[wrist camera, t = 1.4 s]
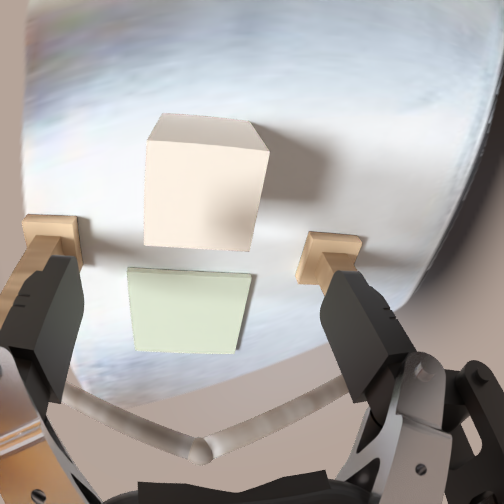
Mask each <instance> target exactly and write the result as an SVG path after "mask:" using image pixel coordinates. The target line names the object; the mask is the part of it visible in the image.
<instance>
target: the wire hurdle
mask: <svg viewBox="0 0 504 504" xmlns="http://www.w3.org/2000/svg"><path fill="white" fill-rule="evenodd" d="M22 226H23V231H24V236H25V241H26V245H27V250H26V251H25V253H24V255H23V256H22V258H21V259H20V261H19V262H18V264H17V266H16V267H15V269H14V271H13V272H12V274H11V276H10V278H9V280H8V281H7V283H6V285H5V287H4V288H3V290H2V292H1V294H0V329H1V327H2V325H3V323H4V321H5V319H6V316H7V314H8V312H9V310H10V308H11V306H13V302H14V300H15V298H16V296H18V292H19V290H20V289H21V287H22V285H23V283H24V281H25V280H26V279H27V278H28V277H29V276H31V275H32V274H33V273H34V272H35V271H36V270H38V271H43V269H44V267H45V265H46V263H47V262H48V260H49V258H50V256H51V255H65V256H75V257H76V259H77V262H78V267H79V273H80V271H81V268H82V266H83V261H82V255H81V248H80V240H79V232H78V224H77V216H58V215H30V214H27V215H26V217H25V218H24V219H23V221H22ZM361 246H362V242H361V240H360V239H359V238H358V236H355V235H344V234H333V233H322V232H310V231H309V233H308V236H307V239H306V242H305V246H304V249H303V252H302V255H301V259H300V262H299V265H298V268H297V271H296V274H295V277H296V279H297V282H298V284H311V285H320V287H321V290H322V292H323V294H324V296H325V295H326V292H327V289H328V287H329V284H330V282H331V279H332V277H333V274H334V273H335V272H336V271H338V270H342V271H357V269H356V268H355V266H354V263H355V260H356V258H357V256H358V253H359V251H360V248H361ZM348 392H349V390H348V388H347V385H346V383H345V380H344V378H343V375H342V374H341V375H340V376H338V377H336V378H334V379H332V380H330V381H328V382H327V383H325V384H323V385H321V386H319V387H317V388H315V389H313V390H312V391H309V392H307V393H306V394H303V395H301V396H299V397H297V398H295V399H293V400H291V401H289V402H287V403H285V404H283V405H281V406H278V407H276V408H274V409H272V410H269V411H267V412H265V413H263V414H261V415H258V416H256V417H254V418H251V419H249V420H247V421H244V422H242V423H239V424H237V425H234V426H232V427H230V428H227V429H225V430H222V431H219V432H217V433H214V434H211V435H209V436H206V437H203V438H200V437H197V438H194V437H192V436H189V435H186V434H183V433H180V432H177V431H174V430H172V429H169V428H167V427H164V426H161V425H159V424H156V423H154V422H151V421H149V420H146V419H144V418H141V417H139V416H137V415H135V414H132V413H130V412H128V411H125V410H123V409H121V408H119V407H117V406H115V405H112V404H110V403H108V402H106V401H104V400H102V399H100V398H98V397H96V396H94V395H92V394H90V393H88V392H86V391H84V390H82V389H80V388H78V387H77V386H75V385H73V384H71V383H69V382H67V381H66V382H65V387H64V391H63V396H62V401H61V402H63V403H64V404H66V405H68V406H70V407H71V408H73V409H75V410H77V411H79V412H80V413H82V414H84V415H86V416H88V417H90V418H92V419H94V420H96V421H98V422H100V423H102V424H104V425H106V426H108V427H110V428H112V429H114V430H116V431H118V432H120V433H122V434H125V435H127V436H129V437H131V438H134V439H136V440H138V441H141V442H143V443H146V444H148V445H150V446H153V447H155V448H158V449H160V450H163V451H165V452H168V453H171V454H174V455H176V456H179V457H182V458H185V459H187V460H189V461H190V462H191V463H193V464H195V465H206V464H208V463H210V462H211V461H212V460H213V459H215V458H217V457H220V456H222V455H225V454H227V453H230V452H232V451H235V450H237V449H239V448H242V447H244V446H246V445H249V444H251V443H253V442H255V441H257V440H260V439H262V438H264V437H266V436H268V435H270V434H272V433H274V432H277V431H279V430H281V429H283V428H284V427H287V426H288V425H291V424H293V423H294V422H296V421H298V420H300V419H302V418H304V417H306V416H308V415H310V414H312V413H313V412H315V411H317V410H319V409H321V408H322V407H324V406H326V405H328V404H330V403H331V402H333V401H335V400H336V399H338V398H340V397H341V396H343V395H345V394H347V393H348Z"/></svg>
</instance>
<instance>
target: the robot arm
mask: <svg viewBox="0 0 504 504" xmlns="http://www.w3.org/2000/svg"><path fill="white" fill-rule="evenodd" d="M83 312H84V295H83V290H82V285H81V279H80V273H79V267H78V262H77V259H76V257H75V256H65V255H51V256H50V258H49V260H48V262H47V263H46V265H45V267H44V269H43V271H38V270H36V271H35V272H34V273H33V274H32V275H31V276H29V277H28V278H27V279H26V280H25V281H24V283H23V285H22V287H21V289H20V290H19V292H18V296H16V298H15V300H14V302H13V306H11V308H10V310H9V312H8V314H7V316H6V319H5V321H4V323H3V325H2V327H1V329H0V494H1V496H2V498H3V500H4V502H5V504H442V501H443V496H444V492H445V495H446V498H447V501H448V504H504V392H503V390H502V388H501V387H500V385H499V383H498V381H497V380H496V378H495V376H494V374H493V373H492V371H491V370H490V369H489V368H488V367H487V366H486V365H485V364H483V363H482V362H479V361H476V360H472V361H469V362H468V363H467V364H466V365H465V366H464V367H463V368H462V370H461V371H454V370H446V369H444V368H443V366H442V365H441V363H440V362H439V361H438V360H437V359H436V358H434V357H433V356H431V355H430V354H427V353H425V352H417V351H416V349H415V347H414V346H413V344H412V343H411V341H410V339H409V337H408V336H407V334H406V332H405V331H404V329H403V327H402V326H401V324H400V323H399V321H398V319H396V316H395V315H394V313H393V311H392V310H390V307H389V305H388V303H387V302H386V300H385V299H384V297H383V296H382V295H381V294H380V293H378V292H377V291H376V290H375V289H374V288H373V287H372V286H369V285H368V283H367V282H366V280H365V278H364V277H363V275H362V274H361V273H360V272H359V271H342V270H338V271H336V272H335V273H334V274H333V277H332V279H331V282H330V284H329V287H328V289H327V292H326V295H325V297H324V300H323V302H322V305H321V308H320V321H321V324H322V327H323V329H324V332H325V334H326V336H327V339H328V341H329V344H330V346H331V348H332V351H333V353H334V356H335V358H336V361H337V363H338V365H339V368H340V370H341V373H342V375H343V378H344V380H345V383H346V385H347V388H348V390H349V393H350V395H351V398H352V400H353V403H358V402H364V401H367V402H368V404H369V407H368V408H367V410H366V412H365V414H364V417H363V420H362V423H361V426H360V429H359V432H358V435H357V437H356V440H355V443H354V445H353V448H352V451H351V453H350V456H349V458H348V460H347V462H346V463H345V465H344V466H343V467H342V469H341V470H340V472H339V473H338V475H337V477H336V478H335V480H333V479H328V478H327V474H326V471H325V470H322V471H316V472H311V473H306V474H299V475H293V476H287V477H282V478H279V479H277V480H274V481H272V482H269V483H266V484H264V485H261V486H258V487H255V488H252V489H249V490H246V491H243V492H239V493H232V492H226V491H220V490H215V489H209V488H204V487H199V486H194V485H190V484H177V483H176V484H175V483H151V482H138V490H137V491H131V492H127V493H124V494H120V495H118V496H115V497H112V498H110V499H108V500H107V501H105V502H103V501H102V500H101V498H100V497H99V496H98V494H97V493H96V492H95V490H94V489H93V488H92V486H91V485H90V484H89V482H88V481H87V479H86V478H85V477H84V476H83V474H82V473H81V472H80V470H79V469H78V467H77V466H76V464H75V463H74V461H73V460H72V458H71V457H70V455H69V453H68V452H67V450H66V448H65V446H64V445H63V443H62V441H61V439H60V438H59V436H58V434H57V432H56V430H55V429H54V427H53V425H52V423H51V421H50V419H49V417H48V415H47V414H46V412H47V407H48V402H52V403H58V404H61V401H62V396H63V391H64V387H65V382H66V378H67V373H68V369H69V365H70V361H71V357H72V353H73V349H74V345H75V341H76V338H77V334H78V331H79V327H80V324H81V320H82V317H83ZM469 416H471V418H472V420H473V422H474V424H475V427H476V429H477V431H478V433H479V435H480V438H481V440H482V449H481V451H480V453H479V454H478V455H477V456H475V455H474V454H473V451H472V449H471V447H470V444H469V442H468V440H467V438H466V435H465V433H464V431H463V428H462V426H461V423H462V422H463V421H464V420H465V419H466V418H467V417H469Z"/></svg>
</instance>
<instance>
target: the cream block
mask: <svg viewBox="0 0 504 504" xmlns="http://www.w3.org/2000/svg"><path fill="white" fill-rule="evenodd" d="M269 154H270V151H269V149H268V148H267V146H266V145H265V143H264V142H263V140H262V139H261V137H260V136H259V135H258V133H257V132H256V130H255V129H254V127H253V126H252V124H251V123H250V122H249V121H244V120H236V119H227V118H218V117H208V116H197V115H185V114H171V113H162V115H161V116H160V118H159V120H158V121H157V123H156V125H155V127H154V128H153V130H152V132H151V134H150V136H149V137H148V139H147V146H146V164H145V190H144V246H159V247H176V248H194V249H211V250H228V251H245V252H249V251H250V246H251V241H252V237H253V232H254V227H255V222H256V217H257V212H258V208H259V203H260V198H261V193H262V188H263V183H264V179H265V174H266V169H267V164H268V159H269Z"/></svg>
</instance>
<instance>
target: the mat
mask: <svg viewBox="0 0 504 504" xmlns="http://www.w3.org/2000/svg"><path fill="white" fill-rule="evenodd" d="M127 280H128V292H129V302H130V312H131V321H132V329H133V337H134V345H135V351H150V352H169V353H199V354H235V349H236V345H237V340H238V336H239V332H240V327H241V323H242V318H243V314H244V310H245V305H246V301H247V296H248V292H249V287H250V283H251V274H240V273H218V272H198V271H179V270H161V269H144V268H128V269H127Z"/></svg>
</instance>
